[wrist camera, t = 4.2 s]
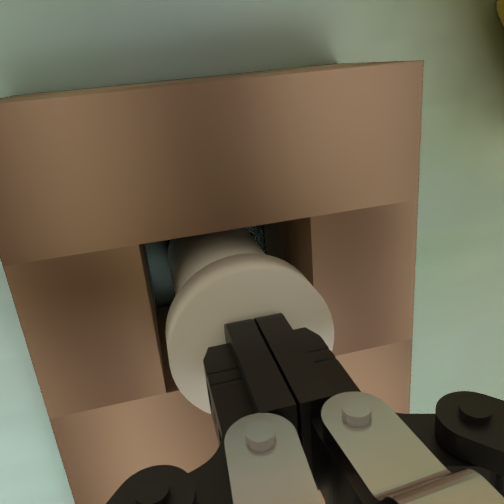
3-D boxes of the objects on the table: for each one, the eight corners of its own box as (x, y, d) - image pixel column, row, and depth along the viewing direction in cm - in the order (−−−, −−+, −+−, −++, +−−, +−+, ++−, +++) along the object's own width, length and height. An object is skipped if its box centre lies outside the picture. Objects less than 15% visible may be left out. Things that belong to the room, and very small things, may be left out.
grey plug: (260, 191, 19) (332, 255, 12) (269, 292, 20) (336, 399, 14) (145, 208, 18) (155, 287, 11) (164, 312, 19) (182, 435, 13)
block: (338, 63, 19) (423, 60, 13) (347, 535, 28) (399, 645, 23) (12, 96, 17) (-46, 107, 11) (141, 595, 26) (145, 734, 21)
